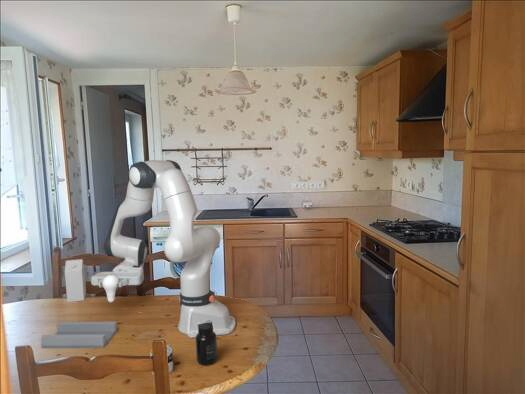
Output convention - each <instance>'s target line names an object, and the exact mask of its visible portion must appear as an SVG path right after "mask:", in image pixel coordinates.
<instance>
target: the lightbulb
mask: <svg viewBox="0 0 525 394" xmlns="http://www.w3.org/2000/svg"><path fill="white" fill-rule="evenodd" d="M118 282H119V279H118V278H117V277H116V276H115V275H108V276H106V277H105V278H104V279H103V282H102V285H103V287H102V288H104V290H105V292H106V298H107V301H108V303H113V302H114V301H115V300H116V299H115V296H116V291H117V289H118V287H117V283H118Z"/></svg>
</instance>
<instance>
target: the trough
mask: <svg viewBox="0 0 525 394" xmlns="http://www.w3.org/2000/svg"><path fill="white" fill-rule="evenodd" d="M117 325H118V324H117V321H59V322H58V323H57V324H56V327H57V331H56V332H55V333H54V334H43V335H42V336H41V337H40V340H41V341H40V343H41V349H104V348H105V347H106V345H108V343H109V342H111V341H110V340H112V338H113V337H114V336H115V334H116V333H118V327H117Z"/></svg>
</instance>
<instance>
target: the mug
mask: <svg viewBox="0 0 525 394" xmlns="http://www.w3.org/2000/svg"><path fill="white" fill-rule="evenodd" d="M166 346H167V356H168V365H169V375H170V374H171V373H172V372H173V371H174V362H173V361H174V358H173V357H174V355H173V347H172V344H170V343H169V344H167V345H166ZM149 354H150V357H151V356H152V349H151V350H150V353H149ZM172 370H173V371H172ZM171 371H172V372H171ZM150 373H151V374H152V376H153V375H154V373H153V372H151V371H150Z"/></svg>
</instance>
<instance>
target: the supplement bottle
mask: <svg viewBox="0 0 525 394" xmlns="http://www.w3.org/2000/svg"><path fill="white" fill-rule="evenodd" d="M217 343H218V341H217V335H216V333H215V332H214V331H213V325H212V324H211V323H203V324H200V325H199V326H198V334H197V335H196V337H195V353H196V362H197V364H198V365H200V364H201V366H210V365H209V364H211V365H213V364H215V363H216V362H217V360H218V344H217ZM214 362H215V363H214ZM212 363H213V364H212Z"/></svg>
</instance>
